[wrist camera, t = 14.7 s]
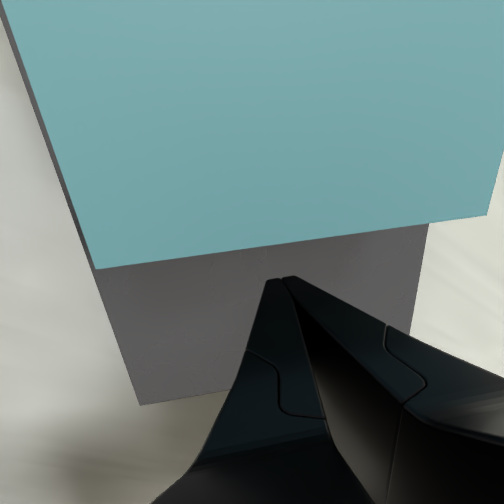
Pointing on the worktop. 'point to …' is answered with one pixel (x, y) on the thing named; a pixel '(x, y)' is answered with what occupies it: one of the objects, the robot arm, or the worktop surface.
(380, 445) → the robot arm
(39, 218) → the worktop surface
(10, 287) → the worktop surface
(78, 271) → the worktop surface
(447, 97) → the slide jaw
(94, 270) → the vise
